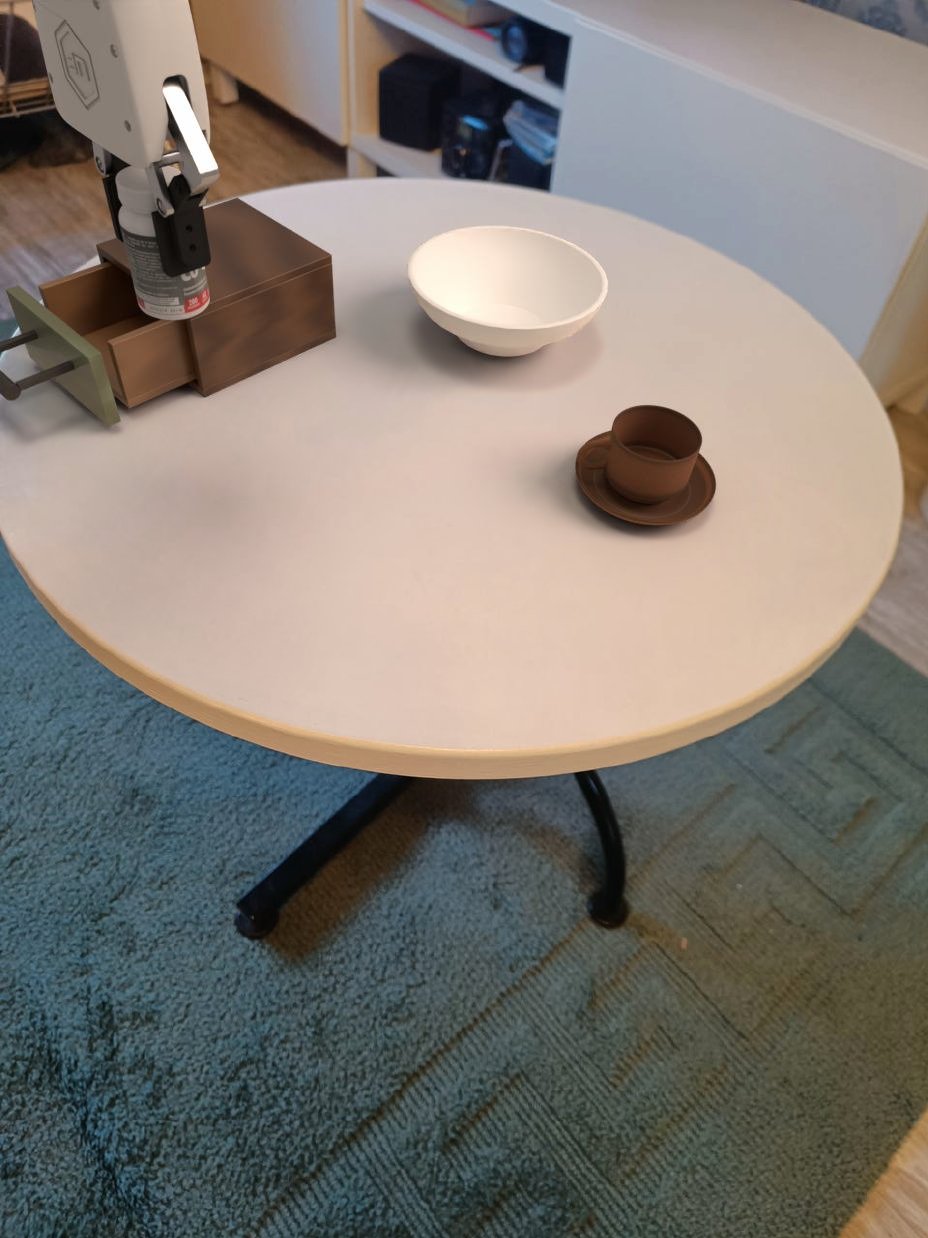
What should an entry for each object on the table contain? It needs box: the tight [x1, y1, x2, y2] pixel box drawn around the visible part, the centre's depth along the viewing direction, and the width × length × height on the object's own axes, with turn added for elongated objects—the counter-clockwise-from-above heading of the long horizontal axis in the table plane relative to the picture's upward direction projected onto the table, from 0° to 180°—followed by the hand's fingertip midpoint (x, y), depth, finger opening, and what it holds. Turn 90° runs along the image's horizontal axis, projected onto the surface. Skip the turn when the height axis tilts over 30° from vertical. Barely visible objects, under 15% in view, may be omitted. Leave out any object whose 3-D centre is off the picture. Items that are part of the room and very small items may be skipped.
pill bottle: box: [116, 165, 210, 320], centre depth 56 cm, size 5×5×8 cm
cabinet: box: [95, 197, 337, 398], centre depth 83 cm, size 16×15×9 cm
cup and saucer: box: [574, 404, 717, 526], centre depth 73 cm, size 12×12×6 cm
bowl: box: [407, 224, 609, 358], centre depth 86 cm, size 20×20×7 cm
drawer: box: [0, 261, 197, 427], centre depth 77 cm, size 21×13×7 cm, turn 136°
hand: (163, 249), depth 56 cm, fingers closed on pill bottle, 4 cm apart
